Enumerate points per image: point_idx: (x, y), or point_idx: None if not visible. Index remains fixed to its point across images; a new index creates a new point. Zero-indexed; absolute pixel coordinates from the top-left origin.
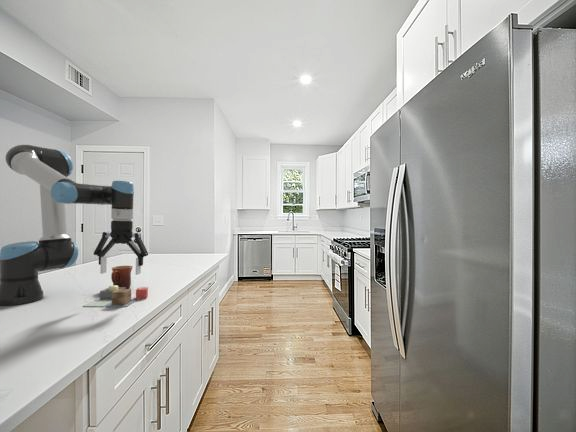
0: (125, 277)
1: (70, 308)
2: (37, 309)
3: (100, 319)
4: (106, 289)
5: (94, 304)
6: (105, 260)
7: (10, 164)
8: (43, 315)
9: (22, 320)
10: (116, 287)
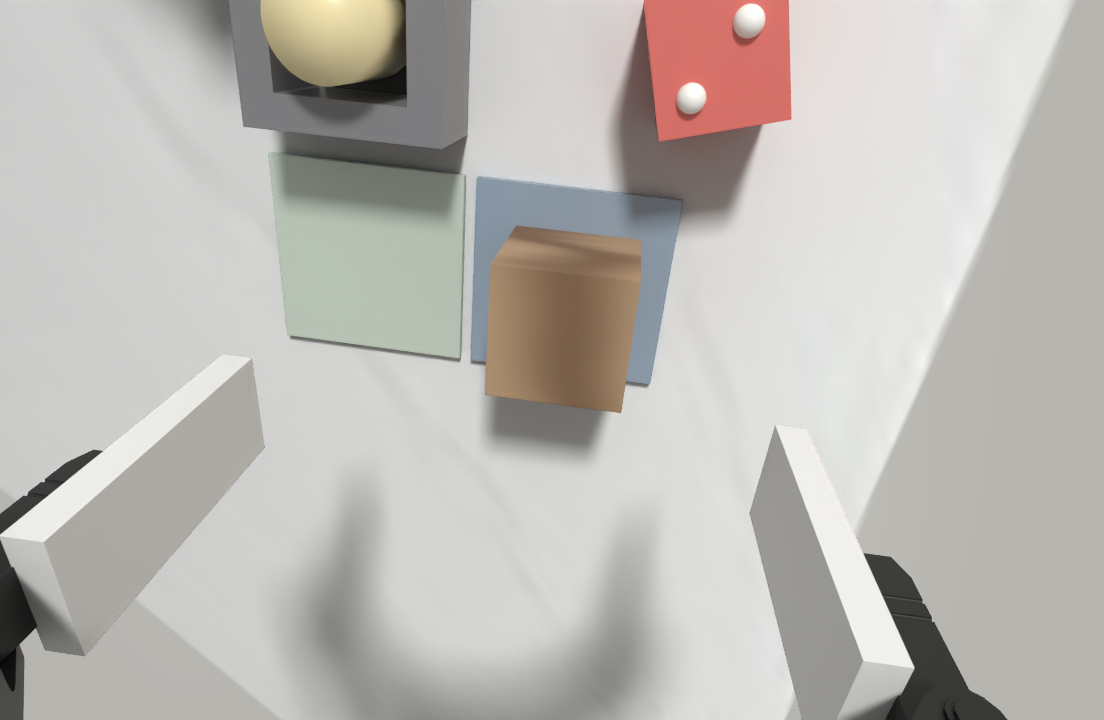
0: None
1: None
2: (20, 355)
3: (575, 595)
4: (257, 34)
5: (353, 304)
6: (122, 510)
7: None
8: None
9: None
10: (376, 55)
